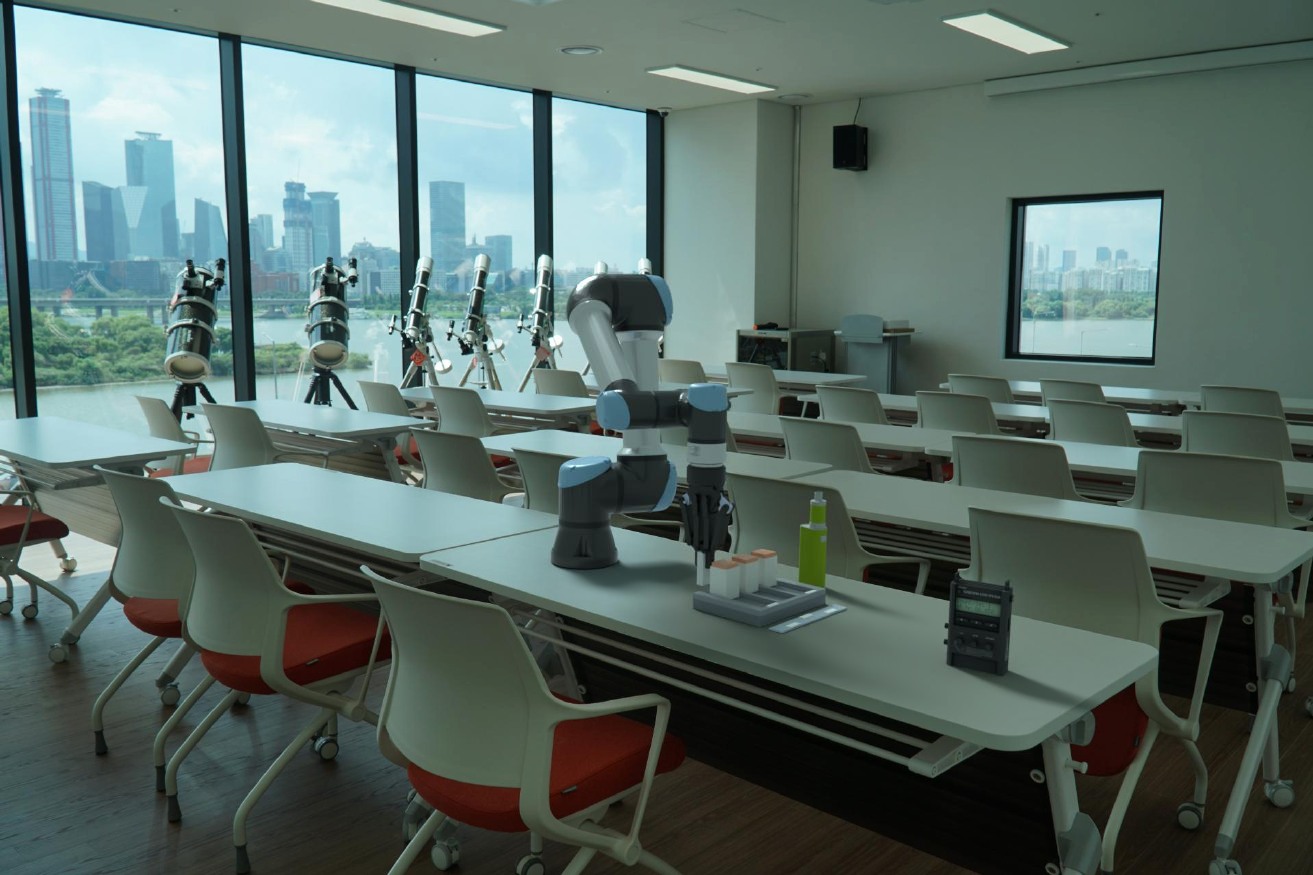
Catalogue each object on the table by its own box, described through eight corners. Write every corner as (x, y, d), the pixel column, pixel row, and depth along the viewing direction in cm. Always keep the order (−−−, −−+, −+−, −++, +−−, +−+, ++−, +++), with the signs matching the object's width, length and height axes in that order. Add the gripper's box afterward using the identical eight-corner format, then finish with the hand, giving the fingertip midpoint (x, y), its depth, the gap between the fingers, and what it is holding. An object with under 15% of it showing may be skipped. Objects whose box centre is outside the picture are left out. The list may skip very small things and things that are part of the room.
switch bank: (692, 608, 191) (693, 592, 190) (760, 587, 206) (760, 572, 206) (759, 627, 180) (760, 609, 180) (825, 603, 195) (825, 587, 195)
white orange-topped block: (748, 584, 200) (749, 551, 199) (760, 580, 203) (761, 548, 202) (764, 588, 197) (765, 555, 196) (776, 584, 200) (777, 551, 199)
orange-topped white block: (729, 590, 195) (730, 556, 194) (742, 586, 198) (743, 553, 197) (745, 594, 193) (746, 560, 192) (758, 590, 195) (759, 556, 195)
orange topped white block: (709, 596, 191) (710, 562, 190) (722, 592, 194) (723, 558, 193) (725, 600, 188) (726, 565, 187) (739, 596, 191) (739, 562, 190)
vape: (816, 590, 204) (819, 494, 201) (795, 584, 209) (798, 490, 206) (828, 587, 206) (832, 492, 204) (807, 581, 211) (810, 488, 208)
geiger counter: (938, 664, 162) (942, 574, 160) (946, 656, 166) (951, 569, 164) (1003, 678, 156) (1009, 585, 154) (1011, 670, 160) (1017, 579, 158)
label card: (768, 629, 179) (768, 627, 179) (833, 605, 194) (834, 603, 194) (782, 633, 177) (782, 631, 176) (847, 608, 192) (847, 606, 192)
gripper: (668, 462, 193) (666, 580, 196) (719, 469, 184) (717, 594, 187) (693, 458, 198) (691, 574, 201) (745, 465, 190) (742, 586, 192)
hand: (704, 583), depth 194 cm, fingers closed
